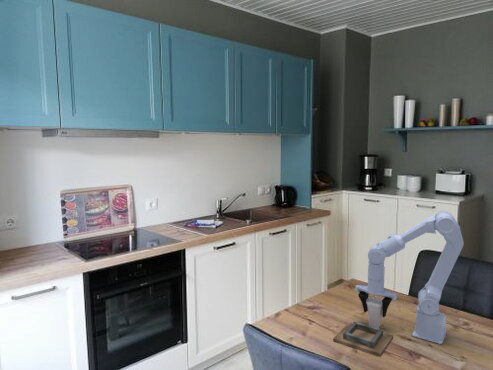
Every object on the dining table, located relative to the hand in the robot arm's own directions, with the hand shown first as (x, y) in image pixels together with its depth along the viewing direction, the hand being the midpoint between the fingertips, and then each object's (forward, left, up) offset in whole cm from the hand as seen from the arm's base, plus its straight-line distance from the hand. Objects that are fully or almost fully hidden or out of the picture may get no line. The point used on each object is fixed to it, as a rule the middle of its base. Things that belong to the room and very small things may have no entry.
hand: (374, 313), depth 138 cm
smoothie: (0, 0, -5) cm, 5 cm away
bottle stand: (0, +12, -5) cm, 13 cm away
